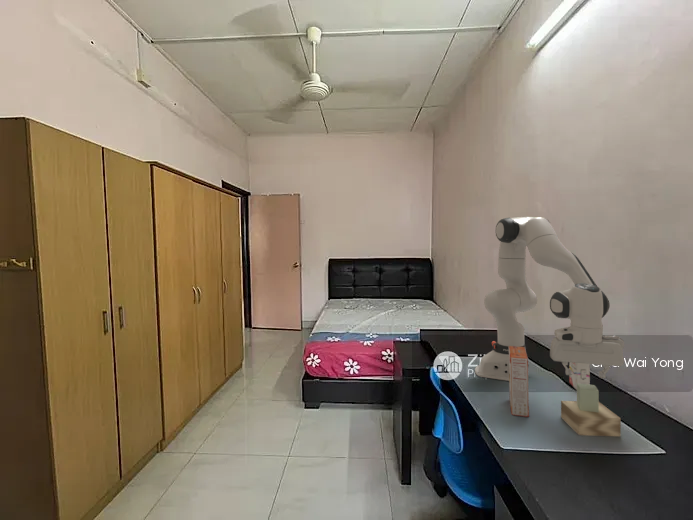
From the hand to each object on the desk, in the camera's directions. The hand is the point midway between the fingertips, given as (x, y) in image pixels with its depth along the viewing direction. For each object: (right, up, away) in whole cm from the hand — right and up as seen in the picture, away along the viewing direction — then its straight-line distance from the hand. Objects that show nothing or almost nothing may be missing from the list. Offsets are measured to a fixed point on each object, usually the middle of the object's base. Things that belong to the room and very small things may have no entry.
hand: (585, 376), depth 122 cm
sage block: (+1, -10, 0) cm, 10 cm away
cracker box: (-16, -16, +14) cm, 26 cm away
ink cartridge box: (+18, -14, +31) cm, 39 cm away
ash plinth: (+1, -16, -1) cm, 16 cm away
